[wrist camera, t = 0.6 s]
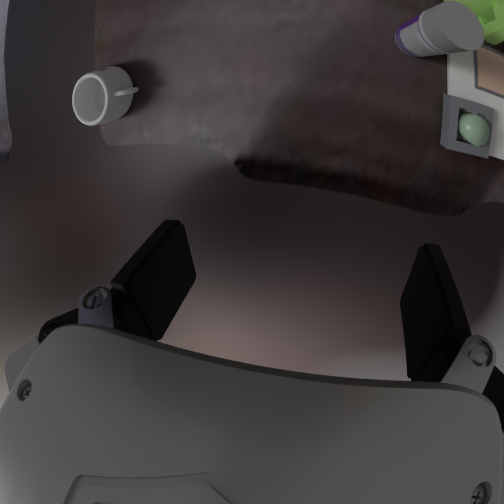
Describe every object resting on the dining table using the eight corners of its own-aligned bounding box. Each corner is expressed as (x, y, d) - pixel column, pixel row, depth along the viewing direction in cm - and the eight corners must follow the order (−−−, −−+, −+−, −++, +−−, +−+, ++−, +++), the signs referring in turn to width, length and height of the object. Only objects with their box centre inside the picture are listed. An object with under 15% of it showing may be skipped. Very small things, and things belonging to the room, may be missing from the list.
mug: (97, 121, 39) (73, 131, 34) (93, 71, 33) (67, 77, 28) (149, 116, 36) (125, 125, 32) (146, 58, 30) (121, 60, 26)
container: (418, 22, 19) (469, -2, 7) (434, 54, 21) (493, 50, 9) (388, 27, 21) (425, 0, 9) (404, 60, 23) (452, 54, 11)
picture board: (438, 30, 18) (447, 27, 16) (512, 59, 15) (523, 60, 12) (438, 142, 28) (446, 148, 25) (506, 159, 24) (516, 167, 22)
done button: (456, 108, 22) (466, 112, 20) (479, 115, 21) (490, 120, 19) (454, 136, 25) (464, 142, 22) (477, 142, 24) (487, 149, 21)
